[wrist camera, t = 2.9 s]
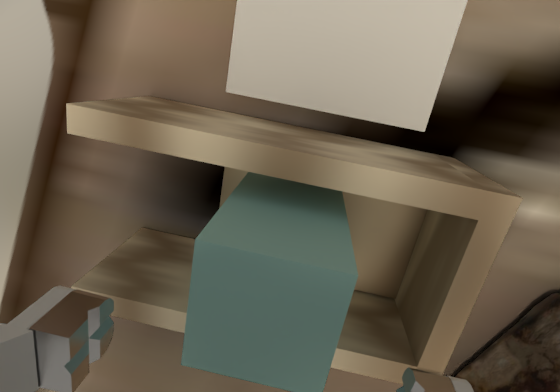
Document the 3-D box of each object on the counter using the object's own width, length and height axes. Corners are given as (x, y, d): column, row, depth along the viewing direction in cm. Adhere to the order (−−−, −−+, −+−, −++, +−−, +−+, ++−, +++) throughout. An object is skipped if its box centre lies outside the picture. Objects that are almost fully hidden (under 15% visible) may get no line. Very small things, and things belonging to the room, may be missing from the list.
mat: (498, -112, 15) (507, -122, 15) (420, 129, 19) (424, 131, 18) (260, -152, 16) (257, -163, 15) (229, 91, 20) (225, 91, 19)
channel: (454, 158, 19) (522, 198, 13) (401, 301, 23) (434, 391, 16) (149, 95, 20) (66, 103, 14) (141, 243, 24) (71, 306, 17)
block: (341, 186, 19) (358, 275, 10) (320, 265, 20) (320, 398, 12) (251, 167, 19) (194, 239, 10) (238, 247, 20) (180, 364, 12)
